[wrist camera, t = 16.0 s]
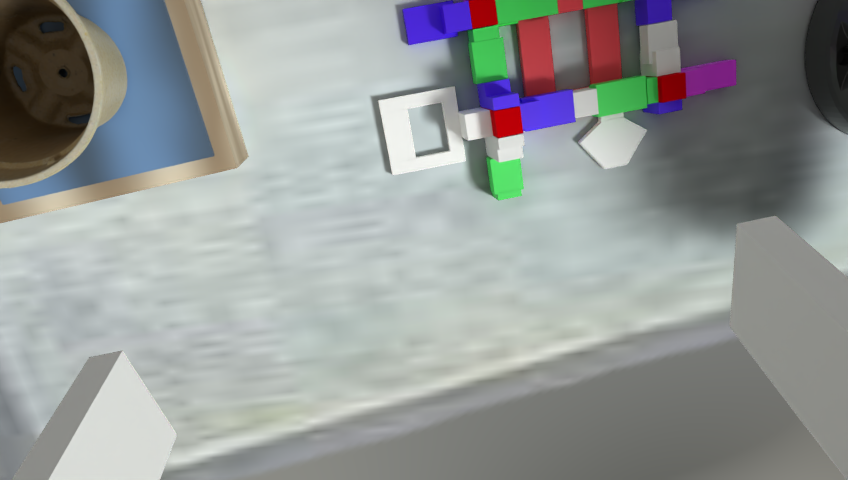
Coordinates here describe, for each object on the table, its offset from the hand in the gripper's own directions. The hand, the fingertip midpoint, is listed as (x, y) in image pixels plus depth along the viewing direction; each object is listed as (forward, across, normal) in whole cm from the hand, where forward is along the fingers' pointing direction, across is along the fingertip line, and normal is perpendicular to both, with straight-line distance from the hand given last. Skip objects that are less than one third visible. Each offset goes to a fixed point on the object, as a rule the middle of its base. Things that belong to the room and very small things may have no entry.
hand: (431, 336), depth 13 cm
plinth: (+28, -19, +2) cm, 34 cm away
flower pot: (+23, -18, +4) cm, 30 cm away
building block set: (+32, +10, -3) cm, 33 cm away
